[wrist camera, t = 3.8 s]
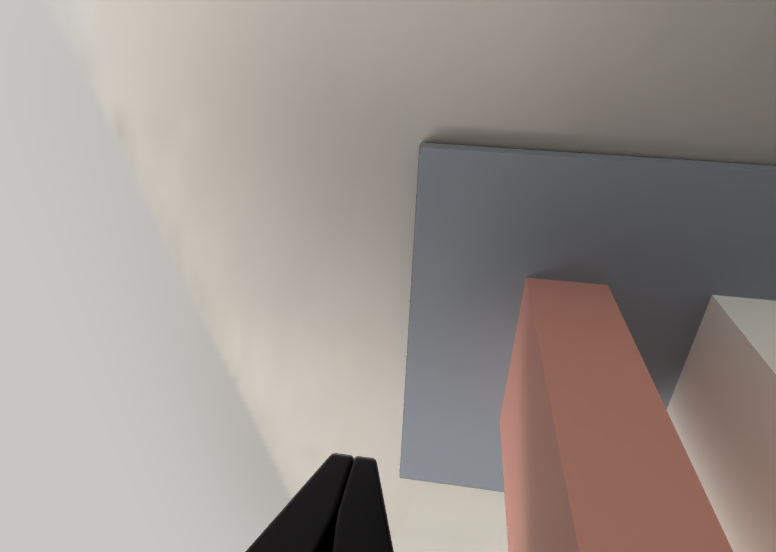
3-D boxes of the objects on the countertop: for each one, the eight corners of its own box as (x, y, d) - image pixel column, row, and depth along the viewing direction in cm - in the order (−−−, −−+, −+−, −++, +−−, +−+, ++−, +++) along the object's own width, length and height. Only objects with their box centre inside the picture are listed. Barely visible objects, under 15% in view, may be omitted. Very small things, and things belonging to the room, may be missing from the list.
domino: (568, 428, 14) (699, 1013, 6) (499, 420, 14) (537, 974, 6) (608, 284, 11) (900, 906, 4) (526, 277, 12) (638, 852, 4)
